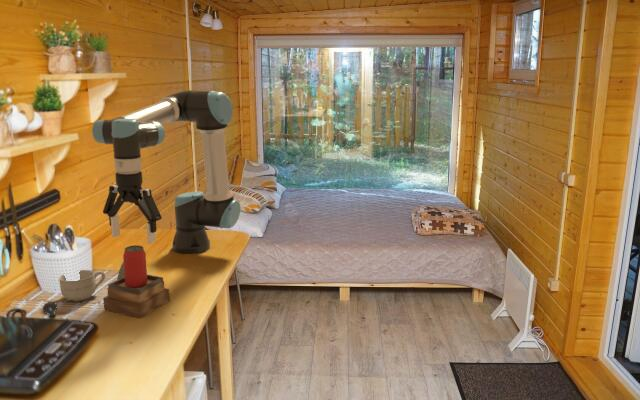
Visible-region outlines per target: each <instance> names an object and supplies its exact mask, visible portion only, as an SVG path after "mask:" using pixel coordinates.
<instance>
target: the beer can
mask: <svg viewBox="0 0 640 400" xmlns="http://www.w3.org/2000/svg"><path fill="white" fill-rule="evenodd" d="M146 254H147V253H146V252H145V250H144V246H142V245H139V244H138V245H134V244H133V245H129V246H126V247H124V251H123V255H122V257H123V258H122V260H123V261H124V274H125V284H126V286H128V287H130V288H138V287H142V286H144V285H145V284H146V283H147V275H148V271H147V270H148V269H147V257H146Z"/></svg>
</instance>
